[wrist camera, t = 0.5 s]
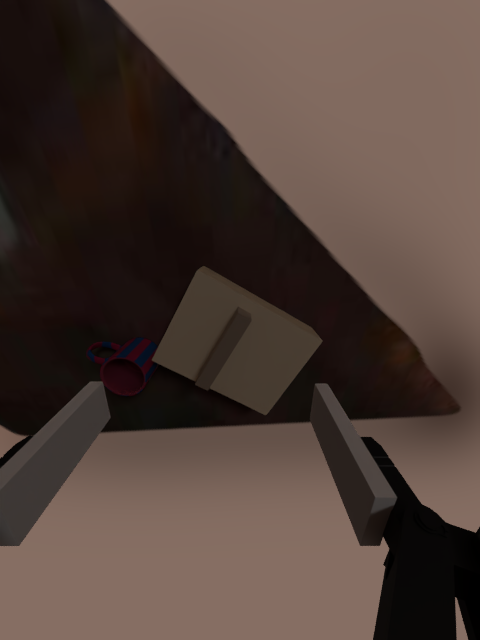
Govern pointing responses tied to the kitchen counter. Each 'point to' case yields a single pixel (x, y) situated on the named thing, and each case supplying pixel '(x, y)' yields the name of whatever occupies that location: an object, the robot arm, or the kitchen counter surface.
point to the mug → (126, 365)
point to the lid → (234, 345)
